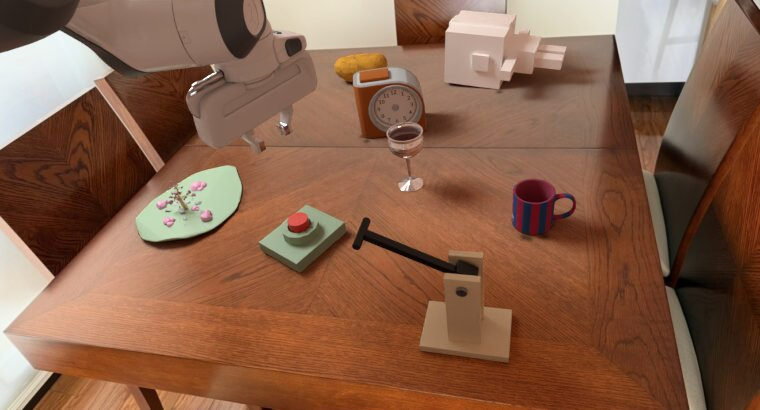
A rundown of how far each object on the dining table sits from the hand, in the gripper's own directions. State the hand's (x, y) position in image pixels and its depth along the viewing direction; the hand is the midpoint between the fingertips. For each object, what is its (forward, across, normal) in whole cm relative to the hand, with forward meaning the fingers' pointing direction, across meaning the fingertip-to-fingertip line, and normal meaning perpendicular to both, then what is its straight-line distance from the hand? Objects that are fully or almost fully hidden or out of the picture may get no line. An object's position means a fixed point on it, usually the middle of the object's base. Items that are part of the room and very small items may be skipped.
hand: (273, 142), depth 77 cm
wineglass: (+21, +23, -7) cm, 32 cm away
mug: (+21, +25, -33) cm, 47 cm away
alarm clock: (+21, +39, +10) cm, 45 cm away
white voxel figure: (+21, +71, -1) cm, 74 cm away
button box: (+21, 0, 0) cm, 21 cm away
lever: (+7, -4, -28) cm, 30 cm away
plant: (+21, -5, +29) cm, 36 cm away
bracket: (+21, -1, -34) cm, 40 cm away
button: (+18, 0, 0) cm, 18 cm away
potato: (+21, +54, +33) cm, 67 cm away
